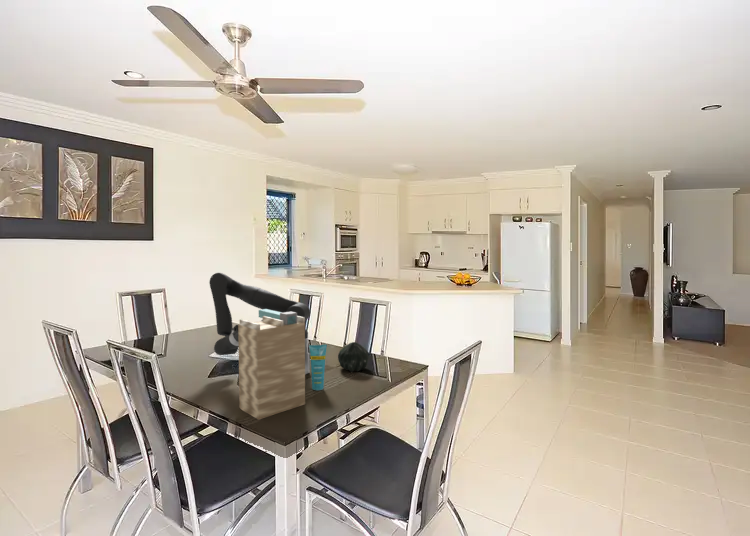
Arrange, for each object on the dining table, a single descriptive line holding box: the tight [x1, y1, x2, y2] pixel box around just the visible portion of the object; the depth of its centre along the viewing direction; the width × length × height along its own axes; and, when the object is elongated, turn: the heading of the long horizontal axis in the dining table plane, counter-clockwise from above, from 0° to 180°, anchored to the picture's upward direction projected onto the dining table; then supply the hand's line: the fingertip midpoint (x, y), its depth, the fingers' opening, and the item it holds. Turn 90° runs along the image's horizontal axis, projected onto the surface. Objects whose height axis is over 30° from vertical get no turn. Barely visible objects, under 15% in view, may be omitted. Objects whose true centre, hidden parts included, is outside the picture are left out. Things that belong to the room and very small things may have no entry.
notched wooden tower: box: [237, 316, 306, 420], centre depth 157 cm, size 14×20×34 cm
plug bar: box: [258, 309, 297, 325], centre depth 162 cm, size 21×5×4 cm, turn 45°
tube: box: [308, 343, 328, 391], centre depth 176 cm, size 7×5×19 cm, turn 103°
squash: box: [337, 341, 369, 372], centre depth 203 cm, size 14×15×15 cm
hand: (256, 321), depth 173 cm, fingers open, 8 cm apart
